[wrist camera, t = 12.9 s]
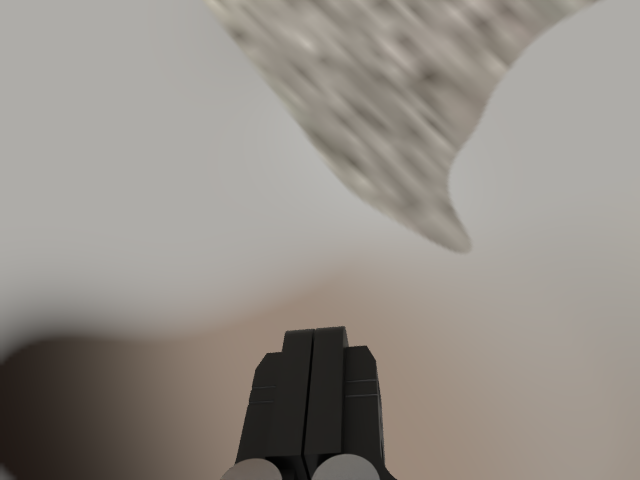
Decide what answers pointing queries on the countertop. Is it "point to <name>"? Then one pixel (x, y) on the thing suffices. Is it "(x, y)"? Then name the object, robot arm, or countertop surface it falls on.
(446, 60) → the countertop surface
